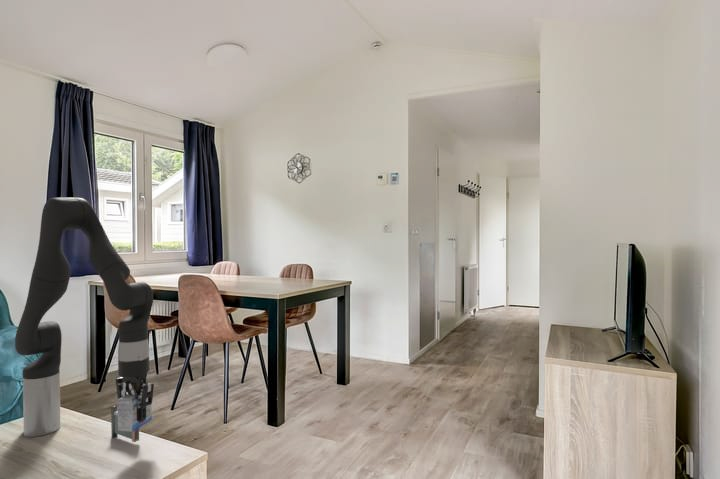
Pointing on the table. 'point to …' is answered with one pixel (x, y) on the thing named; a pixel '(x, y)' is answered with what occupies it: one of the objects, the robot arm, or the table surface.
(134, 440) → the gate
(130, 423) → the medicine box
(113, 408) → the gate post
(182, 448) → the table surface
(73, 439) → the table surface
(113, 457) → the table surface
